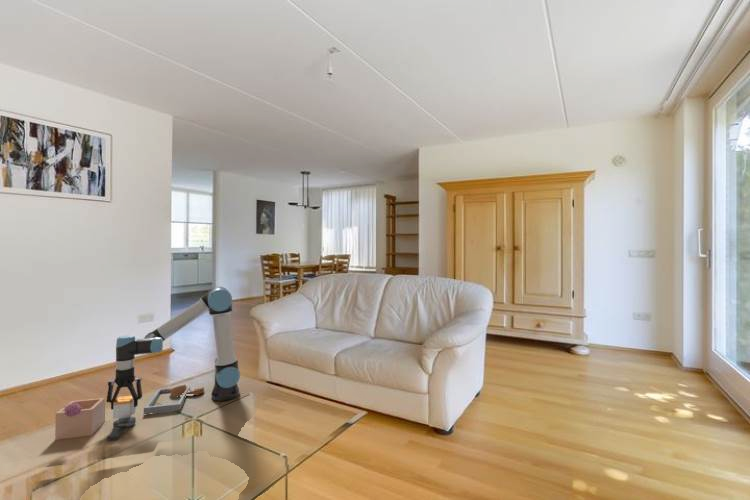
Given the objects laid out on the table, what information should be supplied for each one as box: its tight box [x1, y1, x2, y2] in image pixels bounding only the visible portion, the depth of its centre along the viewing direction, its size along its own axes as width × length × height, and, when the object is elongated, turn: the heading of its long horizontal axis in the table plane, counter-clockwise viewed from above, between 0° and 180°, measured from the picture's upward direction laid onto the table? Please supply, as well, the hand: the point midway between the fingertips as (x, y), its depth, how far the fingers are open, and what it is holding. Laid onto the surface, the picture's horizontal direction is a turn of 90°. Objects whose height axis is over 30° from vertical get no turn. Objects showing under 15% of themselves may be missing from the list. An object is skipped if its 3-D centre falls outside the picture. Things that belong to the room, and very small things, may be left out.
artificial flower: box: [63, 402, 83, 417], centre depth 163 cm, size 7×7×25 cm
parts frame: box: [143, 385, 191, 415], centre depth 199 cm, size 17×27×4 cm, turn 18°
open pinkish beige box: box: [54, 397, 106, 441], centre depth 169 cm, size 14×14×12 cm
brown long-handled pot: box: [169, 384, 205, 398], centre depth 209 cm, size 18×8×7 cm, turn 98°
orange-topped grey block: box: [112, 395, 133, 420], centre depth 173 cm, size 7×7×8 cm
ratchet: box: [106, 416, 136, 442], centre depth 168 cm, size 9×19×8 cm, turn 18°
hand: (124, 414), depth 173 cm, fingers closed on orange-topped grey block, 7 cm apart
